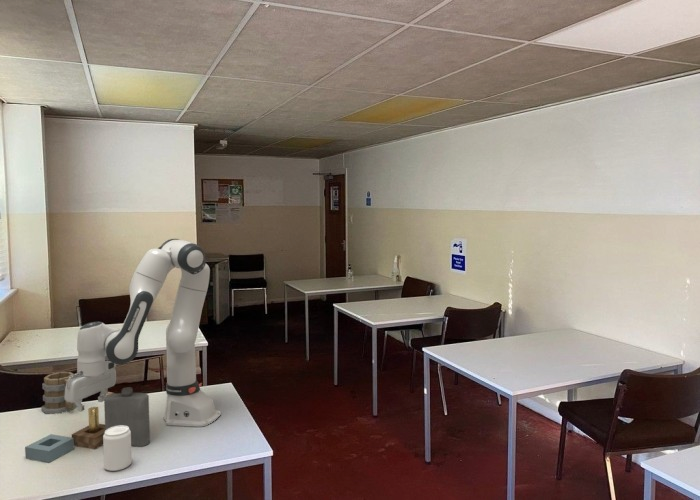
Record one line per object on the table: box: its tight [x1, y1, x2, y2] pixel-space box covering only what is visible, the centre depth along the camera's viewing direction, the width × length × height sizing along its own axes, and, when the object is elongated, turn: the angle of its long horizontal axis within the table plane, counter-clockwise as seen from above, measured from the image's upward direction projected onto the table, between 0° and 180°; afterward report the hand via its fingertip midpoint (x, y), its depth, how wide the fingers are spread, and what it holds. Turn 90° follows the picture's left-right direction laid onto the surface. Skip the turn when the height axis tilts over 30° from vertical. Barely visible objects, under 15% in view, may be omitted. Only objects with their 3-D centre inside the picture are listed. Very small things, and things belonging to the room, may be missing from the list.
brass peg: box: [87, 406, 100, 434], centre depth 176 cm, size 3×3×12 cm
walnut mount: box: [71, 423, 105, 450], centre depth 176 cm, size 10×10×4 cm
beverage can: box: [102, 425, 133, 472], centre depth 159 cm, size 8×8×12 cm
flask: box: [103, 386, 151, 447], centre depth 174 cm, size 15×6×20 cm, turn 93°
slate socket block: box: [24, 433, 75, 464], centre depth 167 cm, size 10×10×4 cm
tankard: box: [40, 371, 77, 415], centre depth 204 cm, size 20×13×15 cm, turn 50°
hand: (91, 405), depth 175 cm, fingers open, 8 cm apart
